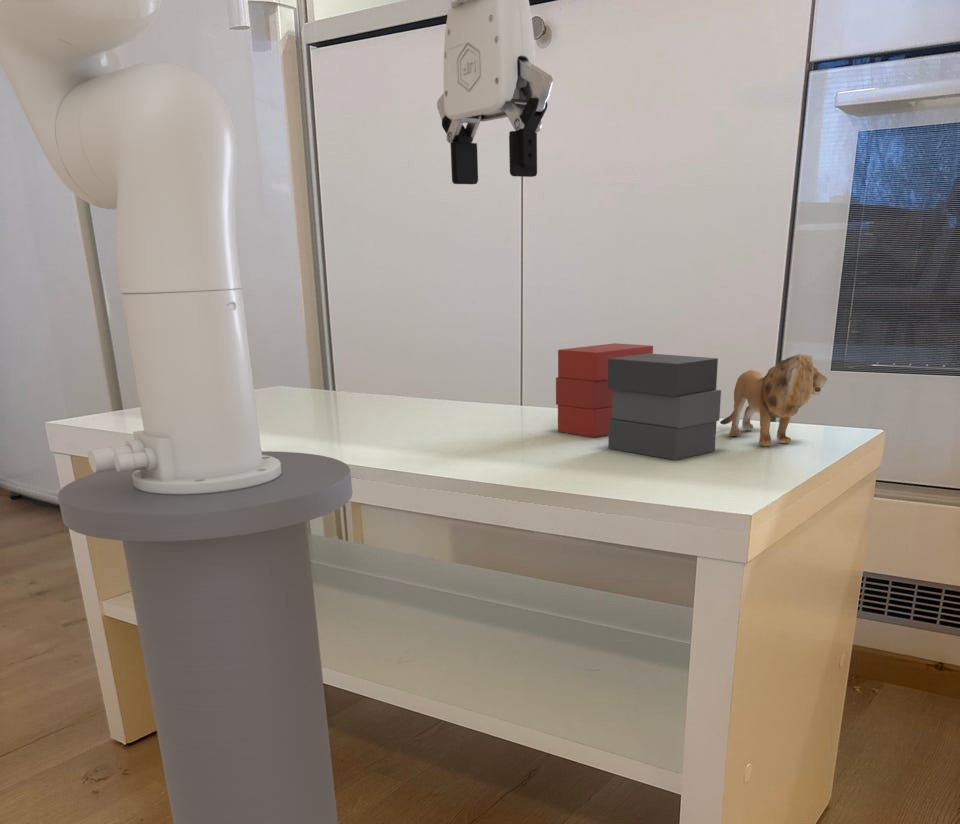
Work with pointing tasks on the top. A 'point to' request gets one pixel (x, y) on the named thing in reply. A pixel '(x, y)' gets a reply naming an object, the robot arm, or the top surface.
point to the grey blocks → (663, 405)
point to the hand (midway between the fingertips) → (493, 180)
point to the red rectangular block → (594, 360)
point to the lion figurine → (775, 395)
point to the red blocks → (583, 406)
